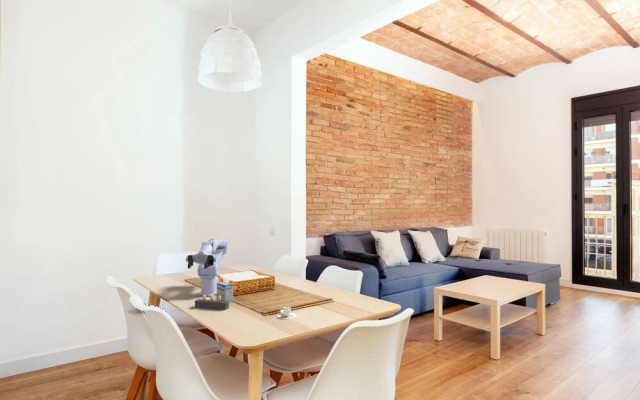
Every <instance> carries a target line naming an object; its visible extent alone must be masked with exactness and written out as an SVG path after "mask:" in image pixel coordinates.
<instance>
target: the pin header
mask: <svg viewBox="0 0 640 400" xmlns="http://www.w3.org/2000/svg"><path fill="white" fill-rule="evenodd" d="M206 297H207V296H205V295H203V296H202V298H197V299H195V300H194V307H195V308H199V309H200V308H202V309H210V310H211V309H212V310H225V311H226V310H228V309H230V302H229V301H221V296H218V300H217V299H214V295H211V296H209V297H210V298H209V299H206Z"/></svg>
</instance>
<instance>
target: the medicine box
mask: <svg viewBox="0 0 640 400" xmlns="http://www.w3.org/2000/svg"><path fill="white" fill-rule="evenodd" d="M218 296H221V301H229V303H232V302H233V301H234V284H233V283H229V282H227V281H219V283H217V294H216V300H218Z"/></svg>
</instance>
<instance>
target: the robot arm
mask: <svg viewBox="0 0 640 400" xmlns="http://www.w3.org/2000/svg"><path fill="white" fill-rule="evenodd" d="M229 249H230V241H229V240H228V239H227V238H226V239H225V238H224V239H223V238H218V239H217V238H216V239H215V238H210V239H209V240H208V241H202V242H201V245H200V249H199V251H198V253H195V254H189V255H187V256H186V257H185V261H186V262H187V269H191V268H192V267H194V263H195V264H198V266H197V273H196V274H197V275H198V277H199V278H200V292H199V293H198V294H197V296H202V297H203V295H205V296H206V297H210V296H211V295H213V296H215V295H217V283H219V282H220V280H219V278H218V276H219V271H220V264H219V263H220V262H221V260H222V259H223V257H224V255H226V254H227V252H228V251H229Z"/></svg>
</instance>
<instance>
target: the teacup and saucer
mask: <svg viewBox="0 0 640 400" xmlns="http://www.w3.org/2000/svg"><path fill="white" fill-rule="evenodd" d="M291 310H292V306H283V309H280V311H279V314H277V318H279V319H282V320H290V319H294V318H296V317H297V314H296V313H294V312H292V311H291ZM282 315H283V316H284V317H281V316H282ZM291 315H293V316H292V317H291Z"/></svg>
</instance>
